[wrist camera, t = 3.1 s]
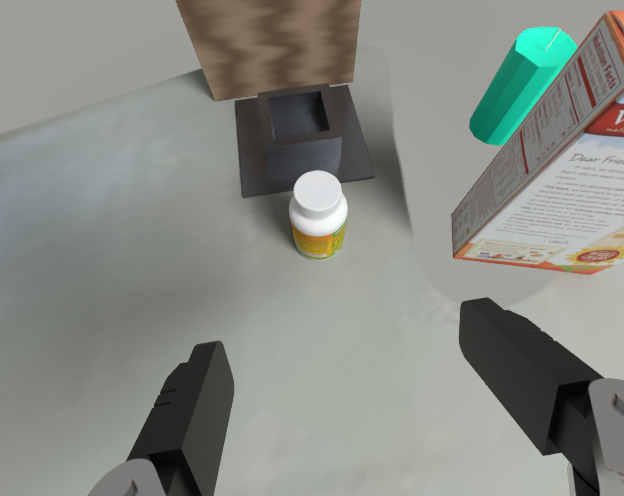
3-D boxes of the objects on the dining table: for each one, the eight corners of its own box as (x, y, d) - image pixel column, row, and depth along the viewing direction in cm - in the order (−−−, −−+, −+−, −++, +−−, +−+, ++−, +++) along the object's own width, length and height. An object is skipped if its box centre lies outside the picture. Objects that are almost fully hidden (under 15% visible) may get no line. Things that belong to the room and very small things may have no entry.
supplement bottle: (337, 266, 32) (343, 224, 23) (289, 256, 33) (277, 211, 24) (347, 223, 34) (356, 168, 25) (301, 214, 35) (294, 158, 26)
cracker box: (578, 225, 33) (938, 14, 14) (590, 277, 31) (1043, 110, 11) (448, 211, 34) (609, -2, 15) (450, 259, 32) (642, 81, 13)
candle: (477, 104, 40) (534, 3, 29) (522, 120, 39) (600, 20, 28) (462, 134, 38) (518, 38, 27) (509, 152, 37) (588, 57, 26)
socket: (243, 197, 36) (234, 177, 32) (236, 103, 42) (228, 77, 38) (374, 177, 36) (379, 156, 33) (347, 87, 43) (349, 60, 39)
